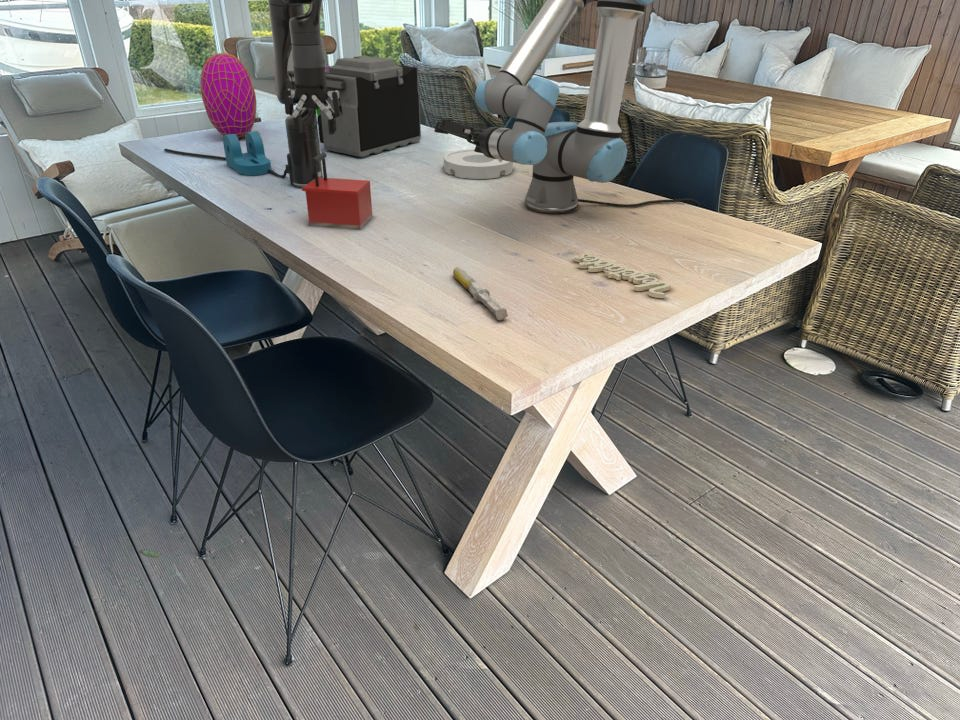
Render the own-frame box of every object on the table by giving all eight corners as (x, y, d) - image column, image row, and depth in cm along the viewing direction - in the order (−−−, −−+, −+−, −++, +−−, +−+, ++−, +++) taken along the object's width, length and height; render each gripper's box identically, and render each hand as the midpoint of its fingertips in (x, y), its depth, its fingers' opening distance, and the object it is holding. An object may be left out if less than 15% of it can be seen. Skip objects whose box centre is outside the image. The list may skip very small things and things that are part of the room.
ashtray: (446, 160, 241) (446, 148, 239) (512, 161, 241) (512, 149, 239) (441, 178, 221) (440, 165, 219) (512, 179, 221) (513, 167, 219)
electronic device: (383, 133, 276) (378, 52, 261) (425, 141, 265) (422, 56, 250) (314, 150, 251) (304, 61, 235) (358, 160, 240) (350, 67, 224)
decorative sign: (686, 282, 150) (660, 295, 144) (686, 286, 150) (659, 300, 144) (592, 249, 166) (565, 259, 160) (592, 253, 167) (565, 263, 161)
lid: (302, 190, 177) (298, 159, 173) (317, 180, 186) (313, 149, 182) (357, 194, 175) (355, 162, 171) (370, 183, 184) (367, 152, 180)
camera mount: (227, 164, 233) (221, 132, 227) (257, 160, 238) (252, 129, 233) (244, 176, 220) (239, 143, 215) (276, 172, 225) (271, 139, 220)
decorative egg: (226, 145, 255) (211, 58, 240) (200, 137, 266) (184, 53, 251) (271, 137, 268) (259, 54, 252) (244, 129, 279) (231, 49, 263)
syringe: (449, 274, 155) (449, 263, 153) (465, 272, 156) (464, 260, 154) (490, 323, 135) (491, 310, 133) (508, 319, 136) (508, 307, 134)
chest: (309, 225, 182) (305, 191, 177) (323, 213, 191) (320, 180, 186) (360, 229, 180) (357, 194, 175) (372, 217, 188) (370, 183, 184)
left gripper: (274, 65, 164) (283, 135, 172) (331, 67, 162) (337, 138, 170) (287, 61, 170) (295, 128, 179) (342, 63, 168) (348, 131, 176)
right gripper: (454, 138, 162) (414, 132, 179) (531, 176, 177) (487, 167, 194) (465, 107, 161) (424, 104, 178) (541, 148, 176) (497, 141, 193)
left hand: (316, 133), depth 174 cm, fingers open, 8 cm apart
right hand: (457, 137), depth 186 cm, fingers open, 13 cm apart
